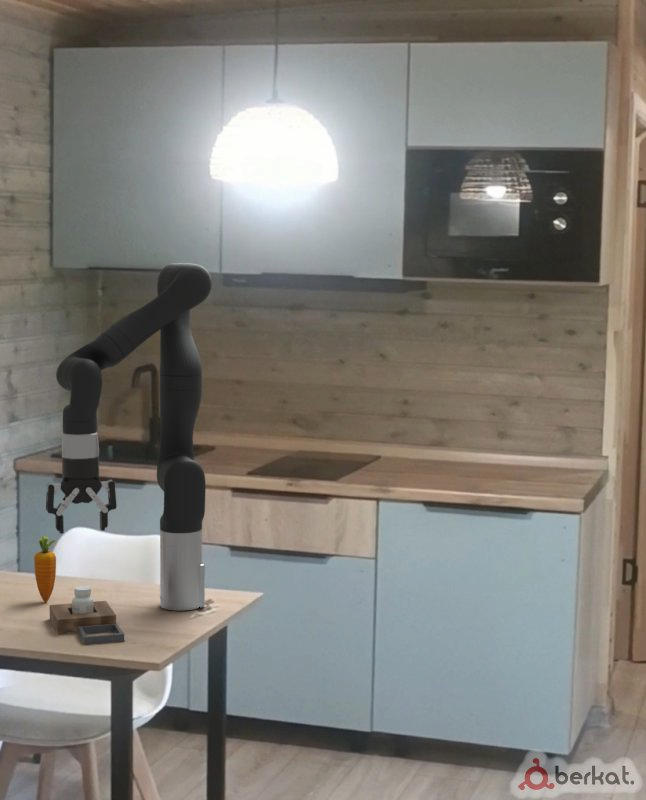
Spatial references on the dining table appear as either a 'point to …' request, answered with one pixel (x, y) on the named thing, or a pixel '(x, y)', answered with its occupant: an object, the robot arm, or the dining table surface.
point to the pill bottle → (82, 600)
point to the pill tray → (101, 638)
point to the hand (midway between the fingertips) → (81, 531)
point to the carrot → (45, 569)
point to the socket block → (80, 617)
